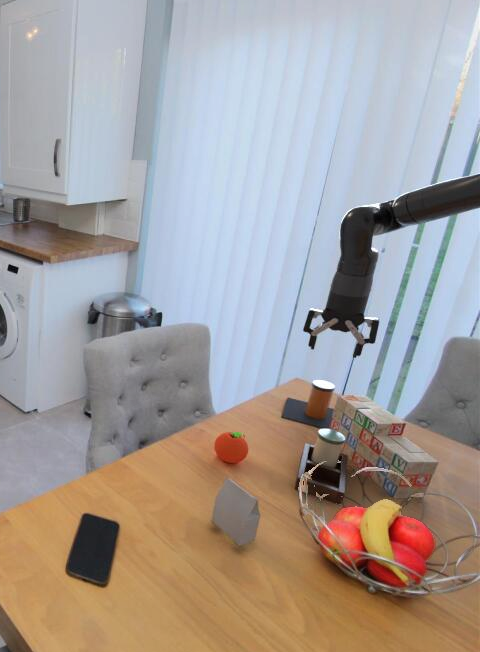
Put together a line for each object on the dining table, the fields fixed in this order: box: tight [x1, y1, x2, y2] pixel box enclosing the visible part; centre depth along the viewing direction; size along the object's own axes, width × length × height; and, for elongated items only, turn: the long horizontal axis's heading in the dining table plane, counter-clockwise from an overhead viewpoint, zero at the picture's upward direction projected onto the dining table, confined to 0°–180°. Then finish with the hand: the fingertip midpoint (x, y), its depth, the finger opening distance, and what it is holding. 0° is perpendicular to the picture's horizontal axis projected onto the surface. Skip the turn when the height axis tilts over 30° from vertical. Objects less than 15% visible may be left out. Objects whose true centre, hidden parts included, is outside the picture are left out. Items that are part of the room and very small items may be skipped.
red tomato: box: [213, 431, 249, 464], centre depth 111 cm, size 8×7×7 cm
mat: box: [281, 397, 334, 429], centre depth 127 cm, size 14×12×1 cm
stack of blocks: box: [329, 394, 439, 499], centre depth 106 cm, size 21×6×12 cm, turn 178°
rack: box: [293, 442, 349, 505], centre depth 104 cm, size 8×15×3 cm, turn 142°
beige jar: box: [310, 428, 345, 469], centre depth 106 cm, size 5×5×9 cm
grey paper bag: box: [210, 477, 261, 547], centre depth 90 cm, size 4×7×10 cm, turn 19°
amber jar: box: [305, 379, 336, 419], centre depth 125 cm, size 5×5×9 cm
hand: (333, 352), depth 120 cm, fingers open, 8 cm apart
